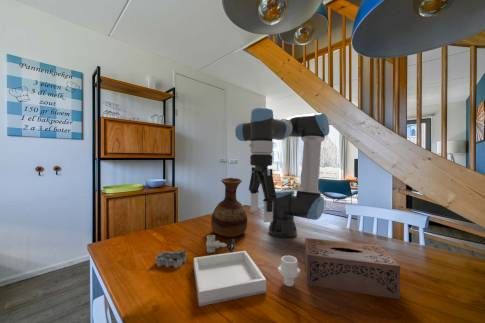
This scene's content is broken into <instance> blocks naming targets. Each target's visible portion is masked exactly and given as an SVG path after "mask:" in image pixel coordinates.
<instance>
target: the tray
mask: <svg viewBox="0 0 485 323" xmlns="http://www.w3.org/2000/svg"><path fill="white" fill-rule="evenodd" d="M193 271H194V272H193V273H194V279H195V285H196V286H195V287H196V293H197V295H196V296H197V301H198V306H199V307H203V306H208V305H212V304H213V305H214V304H218V303H222V302H227V301H232V300H238V299H242V298H246V297H247V298H248V297H250V296H256V295H260V294H266V293H267V279H266V277H265V276H264V275H263V273H262V271H261V270H260V268H259V267H258V266H257V265H256V263H255V262H254V260H253V259H252V258H251V256H250V255H249V253H248V252H247V251H246V250H241V251H235V252H234V251H233V252H232V253H229V252H226V253H219V254H211V255H204V256H197V257H193Z"/></svg>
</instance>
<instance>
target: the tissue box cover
mask: <svg viewBox="0 0 485 323" xmlns="http://www.w3.org/2000/svg"><path fill="white" fill-rule="evenodd" d="M304 242H305V243H304V244H305V245H304V253H305V254H304V267H305V276H306V277H305V278H306V279H305V280H306V285H308V286H313V287H320V288H324V289H325V288H326V289H332V290H340V291H345V292H352V293H358V294H365V295H370V296H377V297H382V298H383V297H384V298H389V299H397V300H399V299H400V285H401V284H400V283H401V282H400V281H401V266H400V264H399V263H398V262H397V261H396V260H395V259H394V258H393V257H392V256H391V255H390V254H389V253H388V252H387V251H386V250H385V249H384V248H383V247H382V246H381V245H379V244H377V245H376V244H368V243H361V242H359V243H356V242H349V241H338V240H337V241H336V240H331V239H330V240H329V239H318V238H311V237H310V238H309V237H305V240H304Z"/></svg>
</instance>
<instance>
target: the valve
mask: <svg viewBox="0 0 485 323" xmlns="http://www.w3.org/2000/svg"><path fill="white" fill-rule="evenodd" d="M205 243H206V252H207V253H209V254H210V253H211V254H214V253H215V252H216V249H220V248H225V247H226V248H227V250H228V251H229V252H228V253H232V252H234V250H235V244H236V242H235V238H234V237H233V238H232V237H230V238H229V242H227V243H225V242H220V240H216V235H215V234H209V235H207V236H206V242H205Z"/></svg>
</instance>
